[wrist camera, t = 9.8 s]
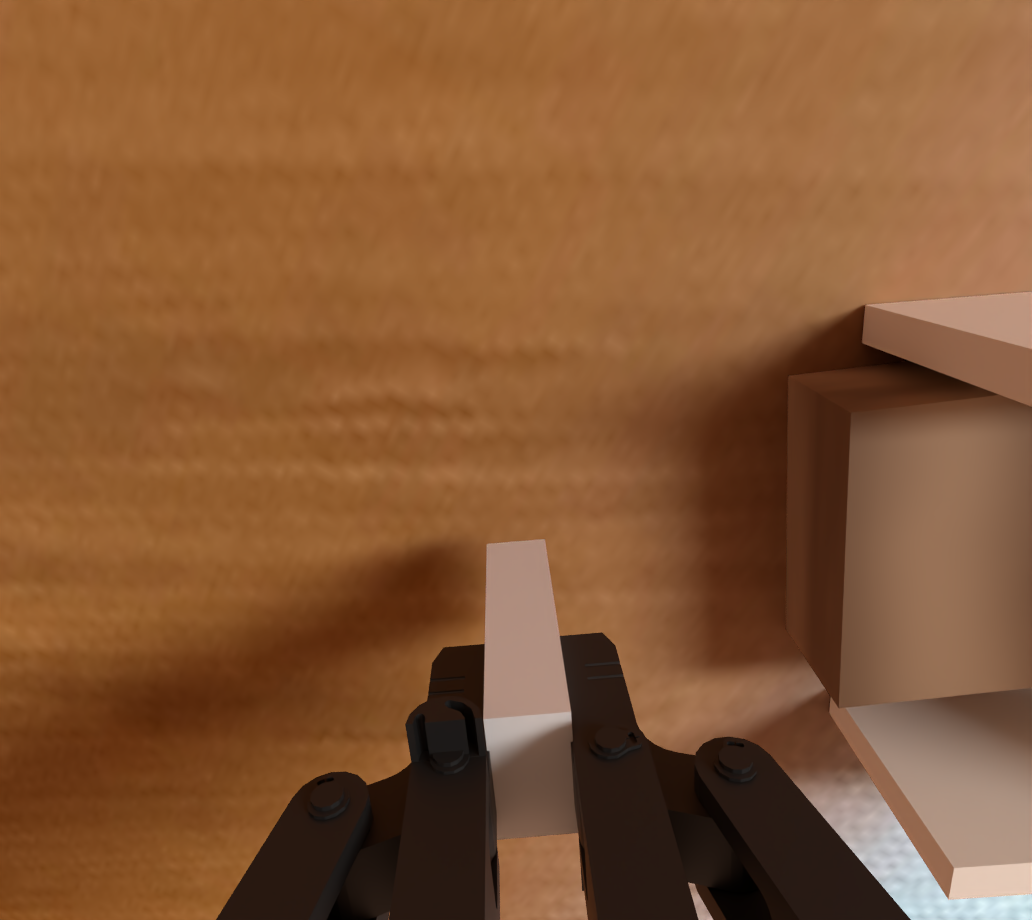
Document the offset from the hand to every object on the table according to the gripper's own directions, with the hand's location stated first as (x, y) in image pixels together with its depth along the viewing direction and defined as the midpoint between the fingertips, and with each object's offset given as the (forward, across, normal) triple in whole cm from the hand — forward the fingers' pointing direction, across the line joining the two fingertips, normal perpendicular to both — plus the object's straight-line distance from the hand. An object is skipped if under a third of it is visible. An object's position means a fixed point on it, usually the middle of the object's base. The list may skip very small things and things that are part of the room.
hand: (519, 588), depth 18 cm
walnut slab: (+2, +14, +1) cm, 14 cm away
